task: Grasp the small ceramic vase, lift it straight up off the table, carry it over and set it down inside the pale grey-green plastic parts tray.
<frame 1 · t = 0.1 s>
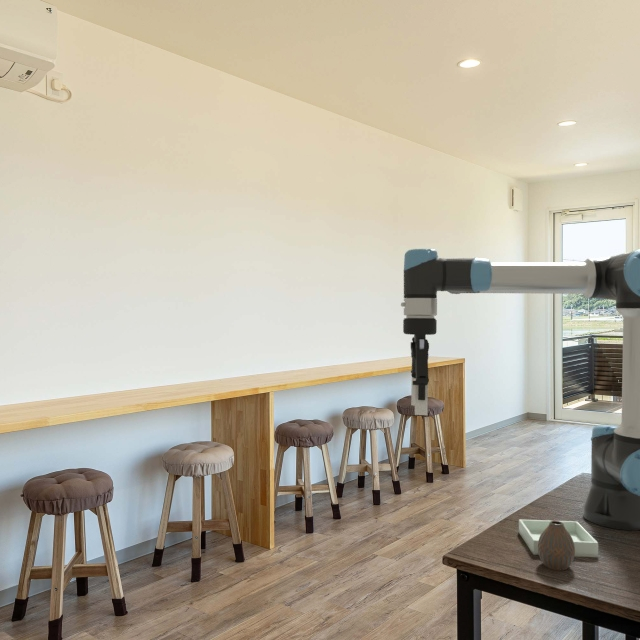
hand: (418, 410, 141), 28 cm above the table, fingers open, 13 cm apart
vase: (556, 567, 123), on the table
parts tray: (556, 544, 134), on the table
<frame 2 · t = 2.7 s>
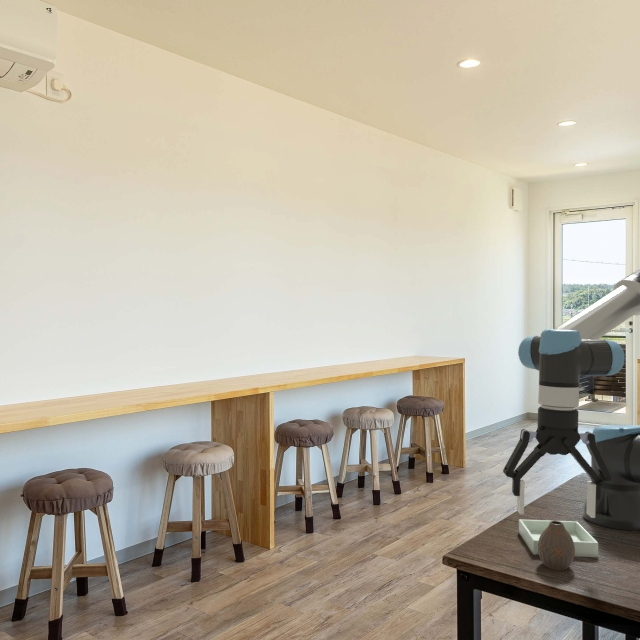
hand: (555, 514, 122), 10 cm above the table, fingers open, 13 cm apart
nothing on the table moved.
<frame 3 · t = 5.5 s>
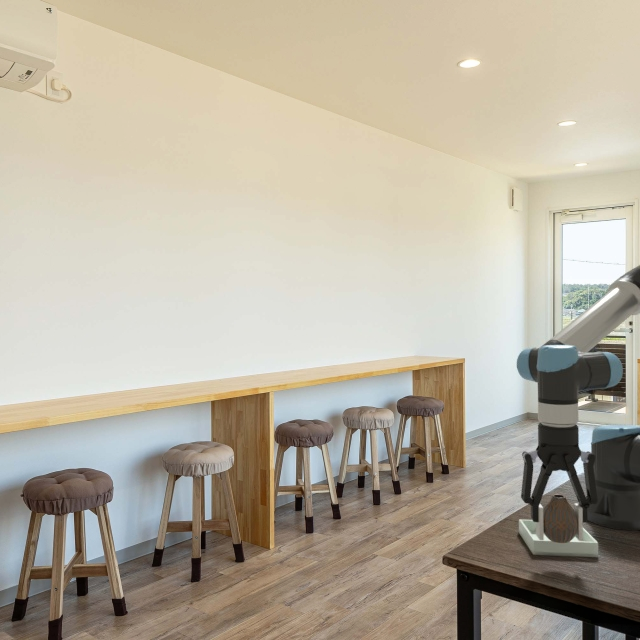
hand: (559, 537, 123), 6 cm above the table, fingers closed on vase, 7 cm apart
vase: (559, 540, 123), point 5 cm above the table, touching gripper
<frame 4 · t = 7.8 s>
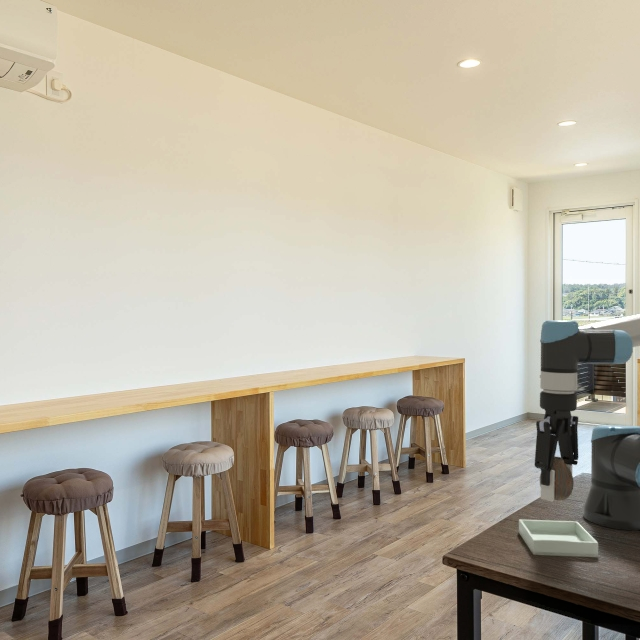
hand: (556, 496, 134), 10 cm above the table, fingers closed on vase, 7 cm apart
vase: (556, 498, 134), point 10 cm above the table, touching gripper
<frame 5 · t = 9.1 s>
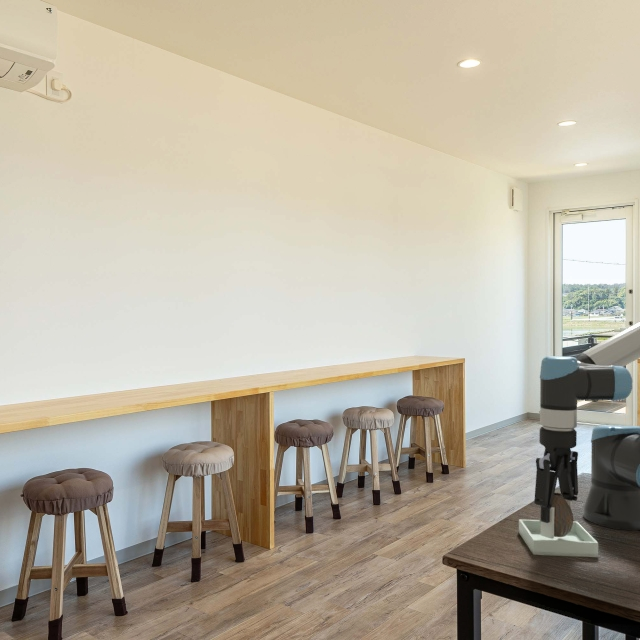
hand: (556, 532, 134), 3 cm above the table, fingers closed on vase, 7 cm apart
vase: (555, 534, 134), point 2 cm above the table, touching gripper
when the fingers open (2 cm above the table, at t = 10.0 s): vase drops 1 cm, resting on parts tray.
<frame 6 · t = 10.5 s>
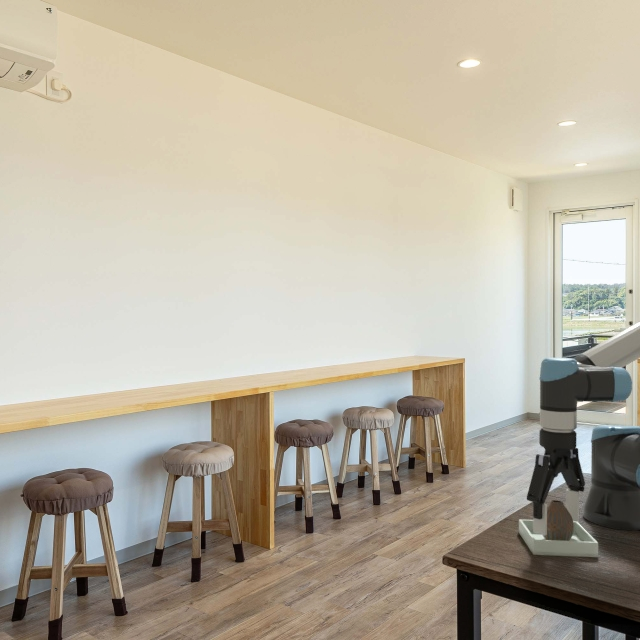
hand: (556, 526, 134), 4 cm above the table, fingers open, 13 cm apart
vase: (556, 542, 134), resting on parts tray
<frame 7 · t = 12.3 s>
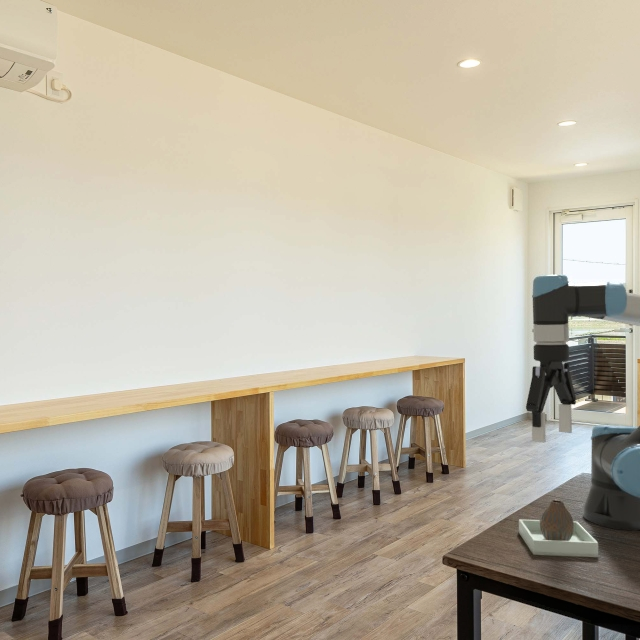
hand: (552, 436, 140), 22 cm above the table, fingers open, 13 cm apart
nothing on the table moved.
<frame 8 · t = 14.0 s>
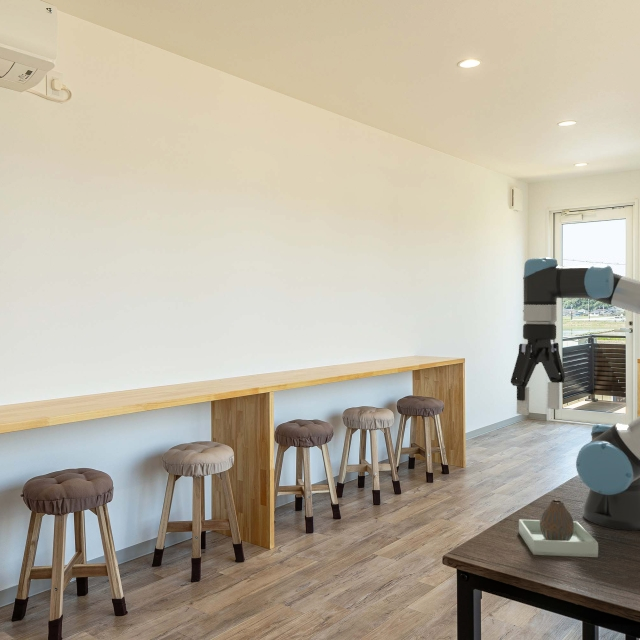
hand: (538, 411, 148), 27 cm above the table, fingers open, 13 cm apart
nothing on the table moved.
at the end: vase inside the target area on the parts tray (0.1 cm from its centre), point 0.4 cm above the parts tray's base; vase tilted 0°; the gripper is holding nothing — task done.
